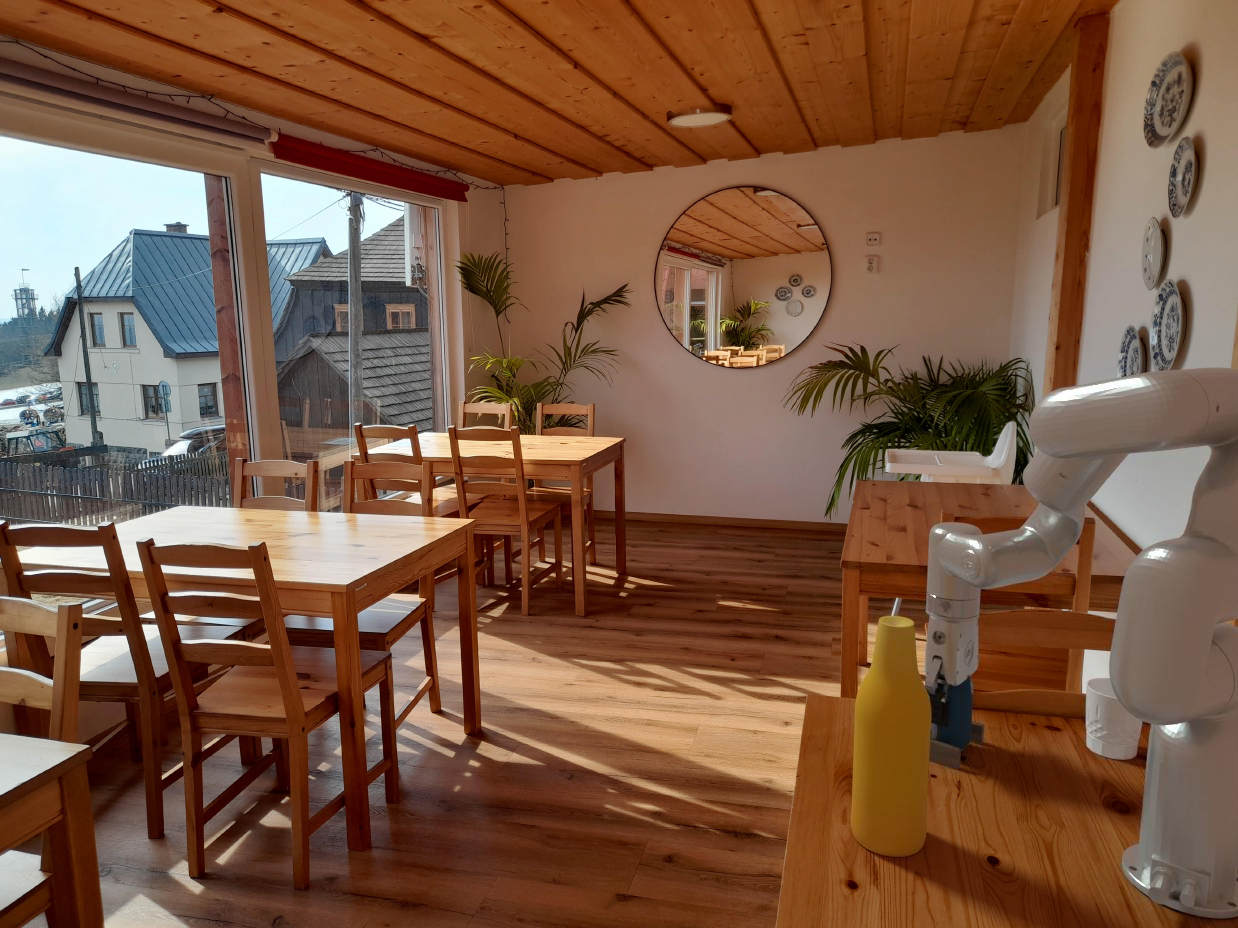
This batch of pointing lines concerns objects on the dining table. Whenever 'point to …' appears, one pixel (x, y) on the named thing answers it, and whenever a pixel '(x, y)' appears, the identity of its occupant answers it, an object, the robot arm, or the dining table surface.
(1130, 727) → the white cup
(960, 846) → the dining table surface
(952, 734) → the soda can
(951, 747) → the gray u-shaped bracket
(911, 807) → the yellow bottle
